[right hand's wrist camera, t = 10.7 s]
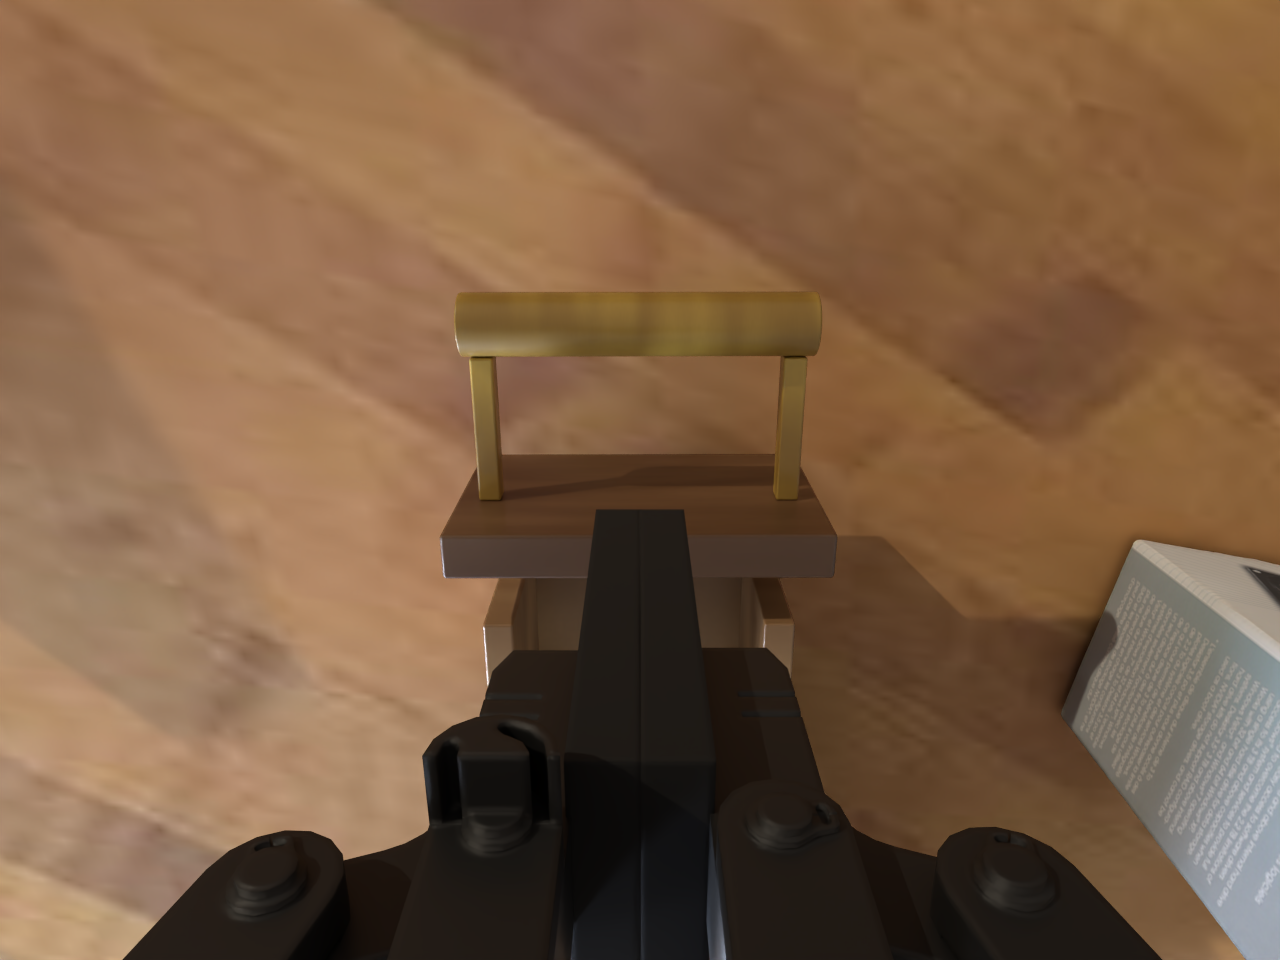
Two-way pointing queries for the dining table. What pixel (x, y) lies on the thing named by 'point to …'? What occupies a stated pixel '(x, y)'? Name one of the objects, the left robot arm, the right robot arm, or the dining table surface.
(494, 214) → the dining table surface
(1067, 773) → the dining table surface
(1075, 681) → the hard drive box
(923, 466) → the dining table surface
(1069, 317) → the dining table surface
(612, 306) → the drawer
